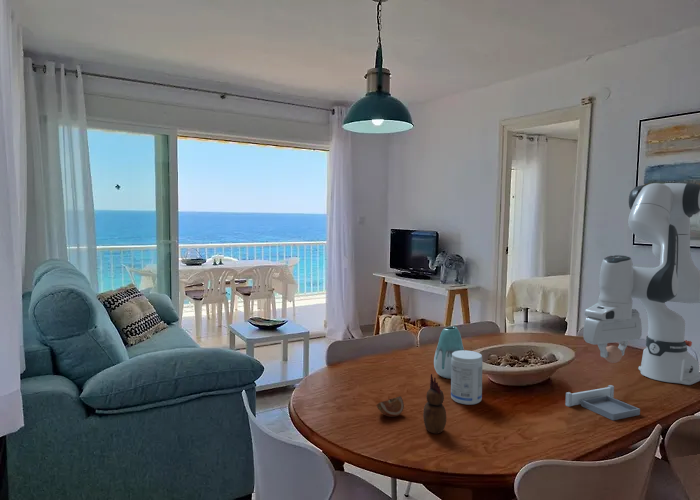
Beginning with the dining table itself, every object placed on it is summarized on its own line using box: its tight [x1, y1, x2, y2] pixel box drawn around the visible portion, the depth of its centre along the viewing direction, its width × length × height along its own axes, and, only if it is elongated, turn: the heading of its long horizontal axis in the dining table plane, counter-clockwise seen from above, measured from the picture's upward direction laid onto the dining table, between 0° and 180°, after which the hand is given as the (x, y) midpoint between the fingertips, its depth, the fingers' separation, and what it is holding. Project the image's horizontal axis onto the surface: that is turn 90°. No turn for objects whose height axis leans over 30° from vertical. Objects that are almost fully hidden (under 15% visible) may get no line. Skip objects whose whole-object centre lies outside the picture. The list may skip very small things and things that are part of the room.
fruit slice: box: [376, 395, 405, 418], centre depth 134 cm, size 8×7×5 cm
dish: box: [580, 396, 641, 421], centre depth 139 cm, size 11×11×2 cm
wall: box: [565, 384, 615, 407], centre depth 145 cm, size 19×1×4 cm, turn 112°
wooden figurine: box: [422, 373, 447, 434], centre depth 124 cm, size 7×6×15 cm
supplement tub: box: [450, 349, 483, 406], centre depth 146 cm, size 10×10×15 cm
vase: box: [433, 326, 465, 380], centre depth 168 cm, size 12×12×18 cm
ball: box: [604, 345, 623, 364], centre depth 138 cm, size 5×5×5 cm
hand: (612, 356), depth 138 cm, fingers closed on ball, 5 cm apart
